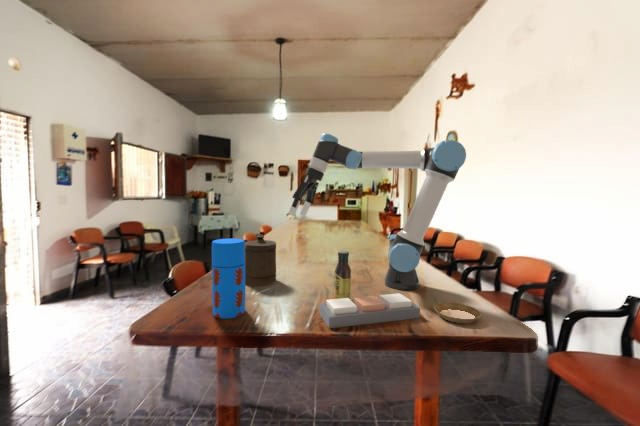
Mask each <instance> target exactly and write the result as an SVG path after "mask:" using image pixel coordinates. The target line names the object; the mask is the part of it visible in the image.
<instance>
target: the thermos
mask: <svg viewBox="0 0 640 426" xmlns="http://www.w3.org/2000/svg"><path fill="white" fill-rule="evenodd" d="M245 242H246V241H245V240H244V239H243V238H232V237H231V238H219V239H215V240H212V241H211V279H212V280H211V282H212V284H211V285H212V286H211V289H212V291H211V292H212V313H213V316H214V317H215V318H218V319H222V320H223V319H234V318H238V317H240V316H242V315H244V313H245V311H246V284H245Z"/></svg>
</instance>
